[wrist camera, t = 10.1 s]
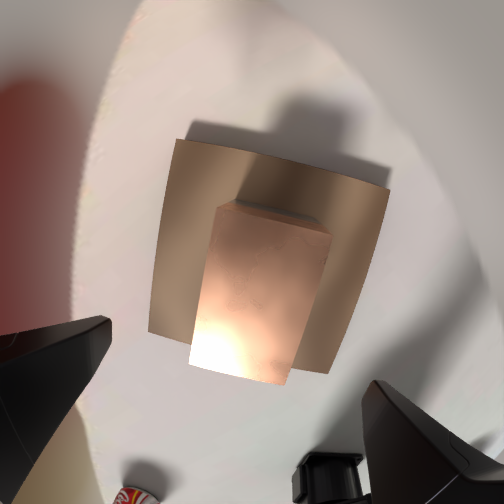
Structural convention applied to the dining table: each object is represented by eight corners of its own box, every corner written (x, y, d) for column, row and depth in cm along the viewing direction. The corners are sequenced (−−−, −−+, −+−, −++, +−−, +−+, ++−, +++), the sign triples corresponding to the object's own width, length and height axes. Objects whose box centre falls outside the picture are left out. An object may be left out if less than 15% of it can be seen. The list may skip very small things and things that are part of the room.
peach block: (282, 330, 20) (284, 385, 14) (211, 314, 20) (189, 363, 14) (314, 217, 18) (333, 235, 12) (235, 198, 18) (216, 207, 12)
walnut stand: (382, 189, 18) (390, 190, 17) (325, 363, 22) (327, 374, 20) (183, 141, 19) (176, 138, 17) (155, 322, 22) (148, 331, 21)
